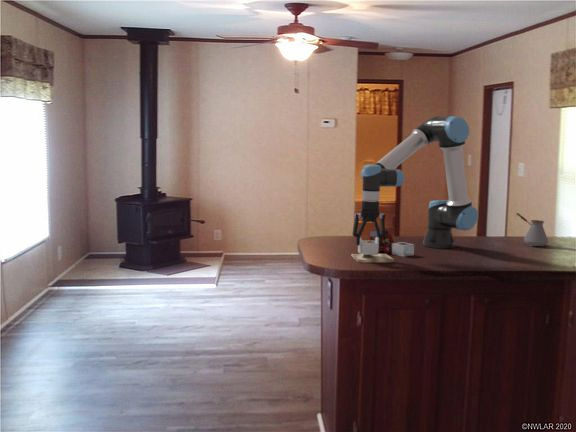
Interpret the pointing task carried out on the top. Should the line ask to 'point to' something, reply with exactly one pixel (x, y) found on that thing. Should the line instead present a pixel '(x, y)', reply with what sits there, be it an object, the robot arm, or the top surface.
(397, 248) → the white block with hole
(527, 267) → the top surface
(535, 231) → the coffee pot
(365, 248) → the white square box
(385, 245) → the toy fire truck
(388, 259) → the keeper
